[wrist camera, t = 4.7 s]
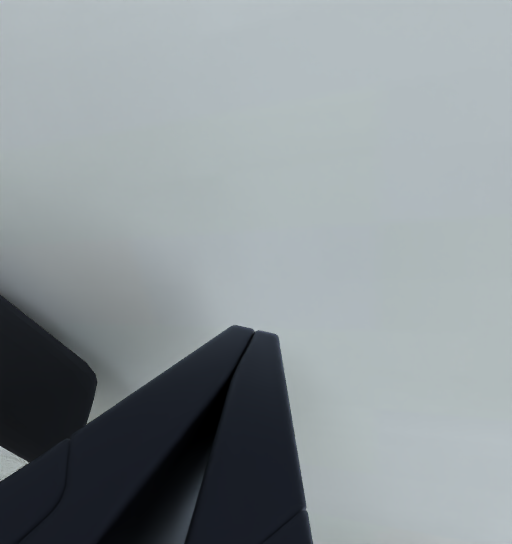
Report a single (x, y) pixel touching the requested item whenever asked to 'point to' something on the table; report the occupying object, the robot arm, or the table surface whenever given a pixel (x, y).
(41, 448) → the electric trimmer
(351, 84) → the table surface
